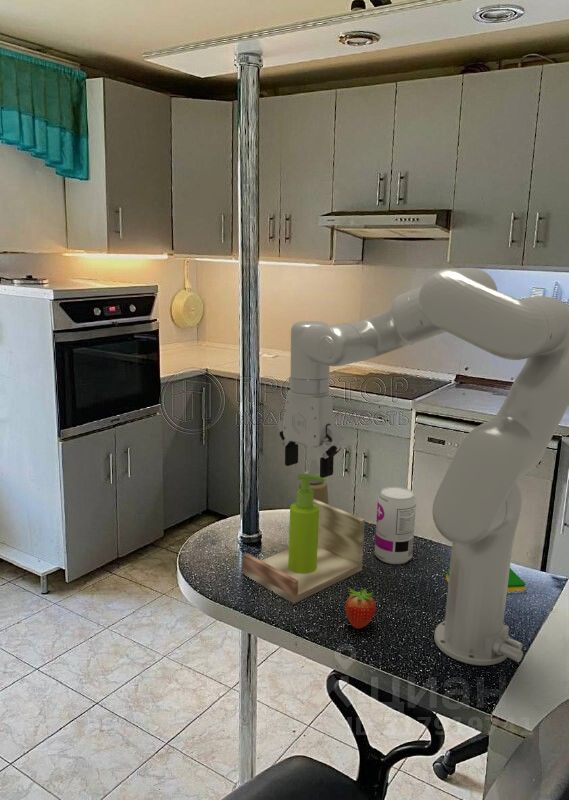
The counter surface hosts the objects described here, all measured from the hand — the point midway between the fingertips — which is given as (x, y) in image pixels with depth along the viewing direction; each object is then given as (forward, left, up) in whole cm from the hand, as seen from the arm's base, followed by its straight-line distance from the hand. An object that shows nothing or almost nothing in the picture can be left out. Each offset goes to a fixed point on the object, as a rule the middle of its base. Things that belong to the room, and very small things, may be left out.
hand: (308, 470), depth 131 cm
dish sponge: (-27, -24, -23) cm, 43 cm away
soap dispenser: (0, 0, -21) cm, 21 cm away
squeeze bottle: (+14, -16, -23) cm, 31 cm away
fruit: (-20, +7, -23) cm, 31 cm away
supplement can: (-7, -20, -23) cm, 31 cm away
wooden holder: (+1, 0, -23) cm, 23 cm away
